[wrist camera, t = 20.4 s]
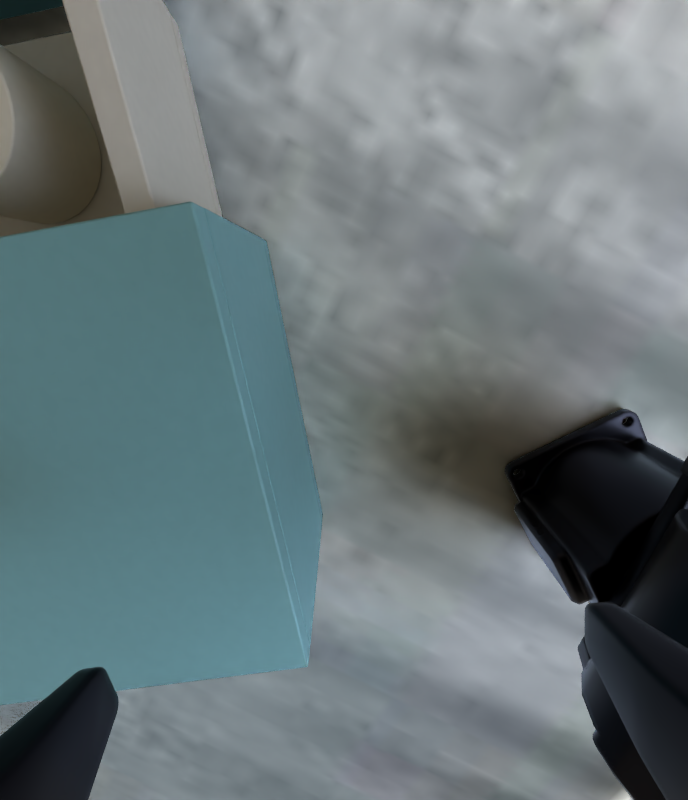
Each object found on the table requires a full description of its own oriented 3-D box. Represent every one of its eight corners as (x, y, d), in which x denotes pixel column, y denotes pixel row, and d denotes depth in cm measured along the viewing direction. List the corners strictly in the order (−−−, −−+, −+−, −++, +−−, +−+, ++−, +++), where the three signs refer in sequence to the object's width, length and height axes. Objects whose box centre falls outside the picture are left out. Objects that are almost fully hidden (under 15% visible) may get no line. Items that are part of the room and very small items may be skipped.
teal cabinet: (-54, 297, 18) (-401, 310, 9) (266, 240, 17) (192, 200, 9) (58, 552, 22) (-121, 721, 13) (323, 514, 21) (308, 668, 13)
